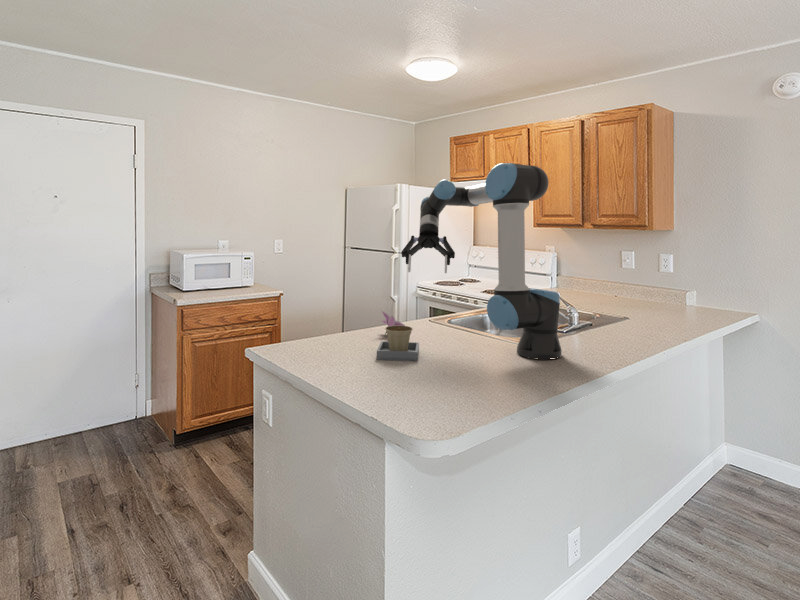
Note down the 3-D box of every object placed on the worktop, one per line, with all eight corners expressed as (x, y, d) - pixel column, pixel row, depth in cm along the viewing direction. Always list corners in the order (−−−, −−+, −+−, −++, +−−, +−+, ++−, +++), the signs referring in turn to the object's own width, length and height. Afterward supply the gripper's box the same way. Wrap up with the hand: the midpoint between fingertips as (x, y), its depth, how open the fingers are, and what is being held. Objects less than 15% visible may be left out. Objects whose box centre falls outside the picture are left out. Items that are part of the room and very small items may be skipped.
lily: (405, 341, 197) (412, 319, 200) (378, 331, 194) (386, 308, 197) (395, 344, 208) (401, 322, 211) (369, 334, 205) (376, 312, 208)
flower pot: (409, 357, 168) (409, 331, 166) (382, 355, 170) (382, 330, 168) (414, 350, 177) (414, 326, 176) (388, 348, 179) (388, 324, 177)
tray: (418, 350, 180) (419, 342, 179) (417, 361, 166) (417, 352, 166) (381, 349, 180) (381, 341, 180) (376, 359, 167) (376, 350, 167)
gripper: (460, 236, 201) (460, 277, 189) (398, 235, 203) (394, 275, 191) (461, 222, 195) (461, 264, 183) (397, 221, 197) (393, 263, 185)
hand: (427, 270), depth 187 cm, fingers open, 13 cm apart
